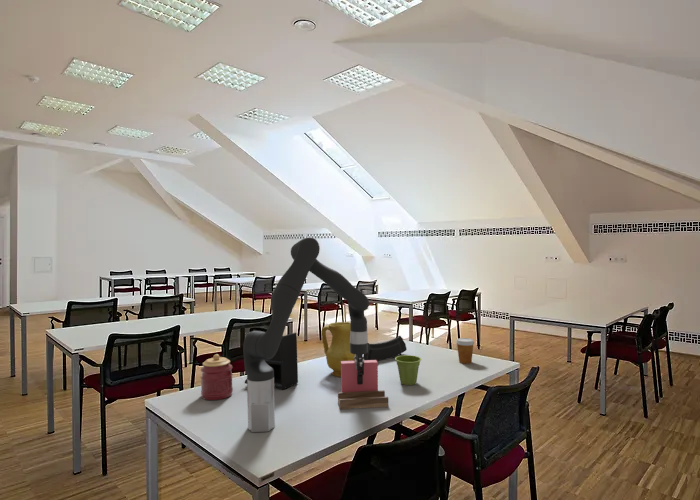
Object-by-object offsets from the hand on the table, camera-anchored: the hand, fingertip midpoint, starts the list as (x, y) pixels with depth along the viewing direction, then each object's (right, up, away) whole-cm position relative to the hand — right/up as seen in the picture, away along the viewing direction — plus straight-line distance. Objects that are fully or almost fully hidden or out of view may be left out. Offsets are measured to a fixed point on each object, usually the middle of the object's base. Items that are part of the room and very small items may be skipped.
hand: (359, 382), depth 185 cm
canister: (-60, -7, +3) cm, 61 cm away
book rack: (+1, -6, -10) cm, 11 cm away
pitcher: (-7, -6, +34) cm, 35 cm away
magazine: (+16, -5, +60) cm, 62 cm away
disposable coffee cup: (+57, -4, +50) cm, 76 cm away
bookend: (-40, -6, +19) cm, 45 cm away
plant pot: (+23, -5, +16) cm, 28 cm away
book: (0, -3, 0) cm, 3 cm away
